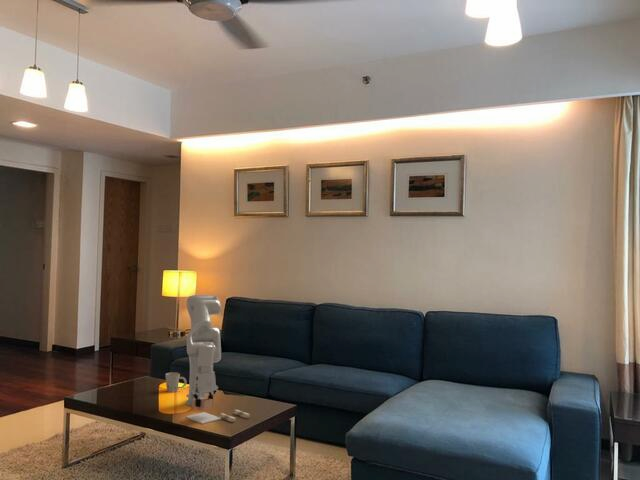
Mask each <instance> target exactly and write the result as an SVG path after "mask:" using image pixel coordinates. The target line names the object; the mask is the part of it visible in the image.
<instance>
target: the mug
mask: <svg viewBox="0 0 640 480" xmlns="http://www.w3.org/2000/svg"><path fill="white" fill-rule="evenodd" d="M164 377H165V384H166V385H165V386H166V387H165V388H166V392H168V393H176V392H177V391H178V389H183V388H185V387H186V386H187V379H186V377H184V376H181V373H180V372H176V371H175V372H167V373H165V376H164ZM180 380H182V381H183V382H184V383H183V385H182V386H179V383H180ZM175 391H176V392H175Z"/></svg>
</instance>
